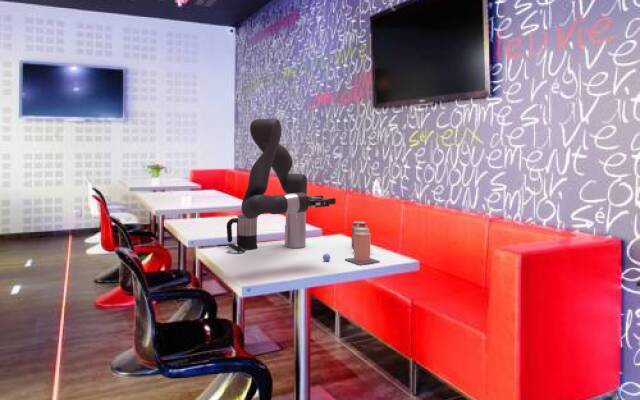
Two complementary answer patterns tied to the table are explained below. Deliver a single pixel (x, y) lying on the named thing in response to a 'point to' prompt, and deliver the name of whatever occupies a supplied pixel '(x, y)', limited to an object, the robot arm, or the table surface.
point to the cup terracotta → (362, 246)
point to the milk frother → (243, 233)
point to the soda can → (355, 224)
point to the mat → (362, 262)
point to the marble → (326, 257)
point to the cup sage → (360, 230)
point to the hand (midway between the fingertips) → (328, 199)
